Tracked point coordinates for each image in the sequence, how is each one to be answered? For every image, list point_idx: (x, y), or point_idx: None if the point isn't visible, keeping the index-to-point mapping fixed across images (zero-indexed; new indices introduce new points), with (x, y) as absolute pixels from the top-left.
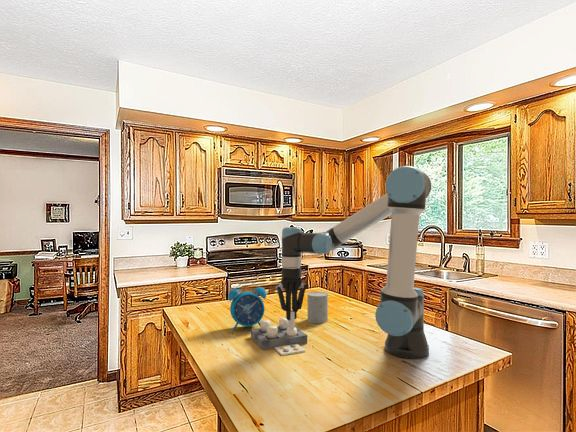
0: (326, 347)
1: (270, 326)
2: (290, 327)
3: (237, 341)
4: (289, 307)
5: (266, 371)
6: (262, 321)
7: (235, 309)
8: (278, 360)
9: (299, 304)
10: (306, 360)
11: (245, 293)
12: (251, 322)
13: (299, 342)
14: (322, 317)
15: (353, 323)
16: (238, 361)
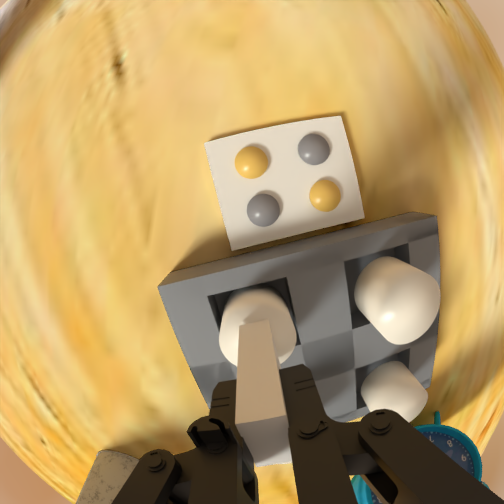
0: (88, 199)
1: (416, 325)
2: (271, 332)
3: (463, 323)
4: (318, 462)
5: (391, 18)
6: (417, 406)
7: (467, 459)
8: (353, 76)
9: (152, 497)
10: (221, 51)
11: None
12: None
13: (214, 263)
14: (104, 464)
15: (26, 410)
16: (477, 127)
